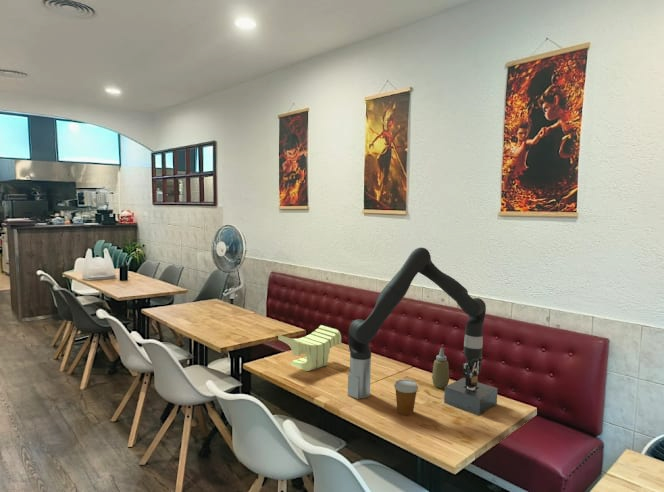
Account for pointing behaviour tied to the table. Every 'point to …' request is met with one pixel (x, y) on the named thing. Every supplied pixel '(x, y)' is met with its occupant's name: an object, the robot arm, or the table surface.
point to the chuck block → (471, 397)
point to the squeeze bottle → (440, 371)
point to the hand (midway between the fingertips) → (471, 384)
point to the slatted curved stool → (313, 347)
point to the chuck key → (473, 382)
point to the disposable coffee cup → (405, 396)
